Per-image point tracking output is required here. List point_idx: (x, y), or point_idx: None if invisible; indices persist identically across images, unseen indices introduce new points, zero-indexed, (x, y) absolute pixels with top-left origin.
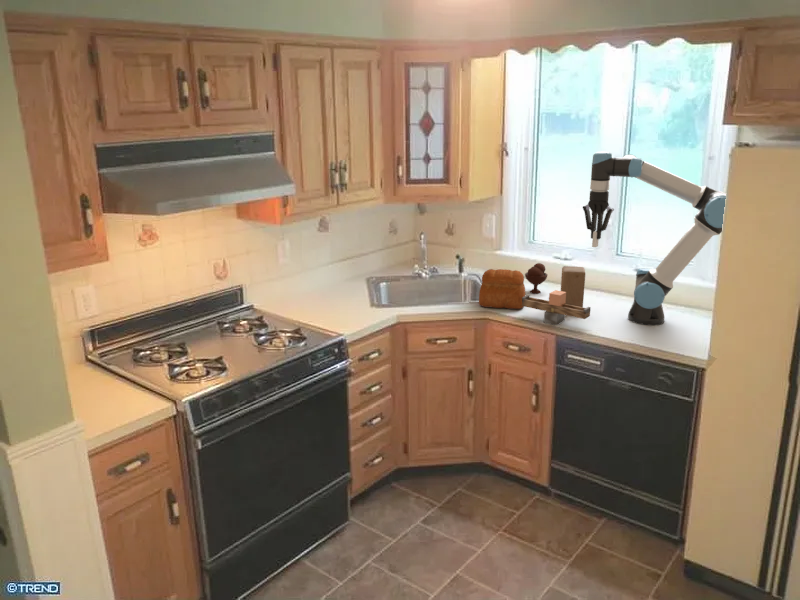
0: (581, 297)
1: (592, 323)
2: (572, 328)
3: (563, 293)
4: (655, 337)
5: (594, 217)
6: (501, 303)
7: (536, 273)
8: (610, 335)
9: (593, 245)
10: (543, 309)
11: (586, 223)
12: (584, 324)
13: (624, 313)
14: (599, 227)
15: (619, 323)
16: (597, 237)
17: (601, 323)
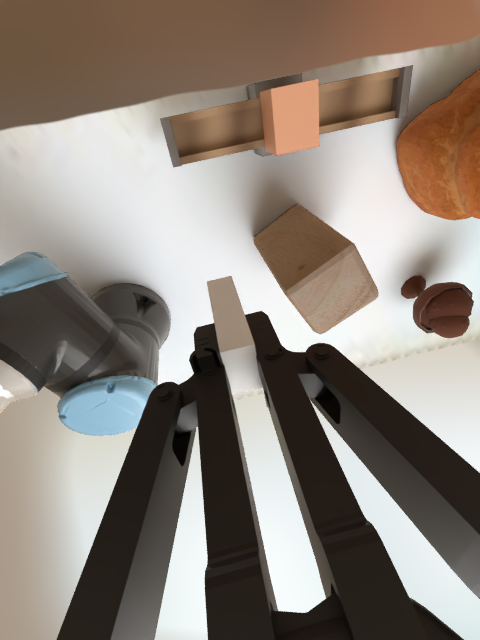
0: (265, 251)
1: (189, 196)
2: (196, 103)
3: (274, 127)
4: (8, 230)
5: (305, 492)
6: (463, 83)
7: (445, 299)
8: (82, 141)
9: (222, 282)
10: None
11: (368, 379)
12: (197, 170)
13: (189, 317)
14: (200, 399)
15: (146, 252)
16: (211, 332)
17: (174, 216)
